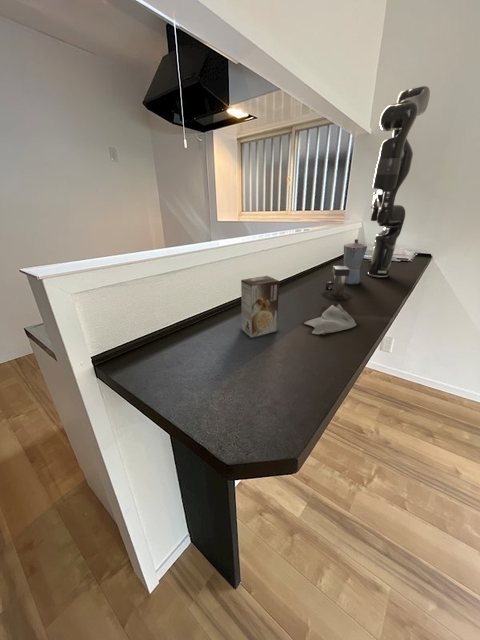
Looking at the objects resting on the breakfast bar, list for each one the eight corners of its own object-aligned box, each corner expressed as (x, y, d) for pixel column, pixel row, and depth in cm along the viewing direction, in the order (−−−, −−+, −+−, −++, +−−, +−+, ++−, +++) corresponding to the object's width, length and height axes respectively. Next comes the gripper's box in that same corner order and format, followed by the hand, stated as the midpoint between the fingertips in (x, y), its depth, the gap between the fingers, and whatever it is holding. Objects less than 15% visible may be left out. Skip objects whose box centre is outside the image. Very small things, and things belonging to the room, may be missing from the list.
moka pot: (337, 286, 120) (344, 240, 111) (339, 277, 132) (345, 235, 124) (359, 288, 116) (369, 242, 108) (359, 279, 129) (367, 237, 121)
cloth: (338, 342, 74) (339, 335, 73) (295, 327, 82) (296, 321, 81) (369, 314, 91) (370, 308, 90) (331, 304, 100) (332, 298, 99)
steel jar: (342, 292, 109) (346, 266, 105) (344, 296, 105) (349, 269, 100) (324, 291, 110) (327, 265, 106) (325, 295, 106) (329, 268, 101)
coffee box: (265, 323, 85) (268, 275, 78) (277, 331, 80) (280, 280, 73) (240, 329, 81) (240, 279, 74) (251, 338, 76) (252, 285, 69)
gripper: (405, 172, 87) (393, 223, 94) (391, 175, 100) (381, 220, 107) (381, 172, 89) (370, 223, 96) (370, 175, 101) (362, 220, 108)
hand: (376, 221), depth 101 cm, fingers open, 8 cm apart
